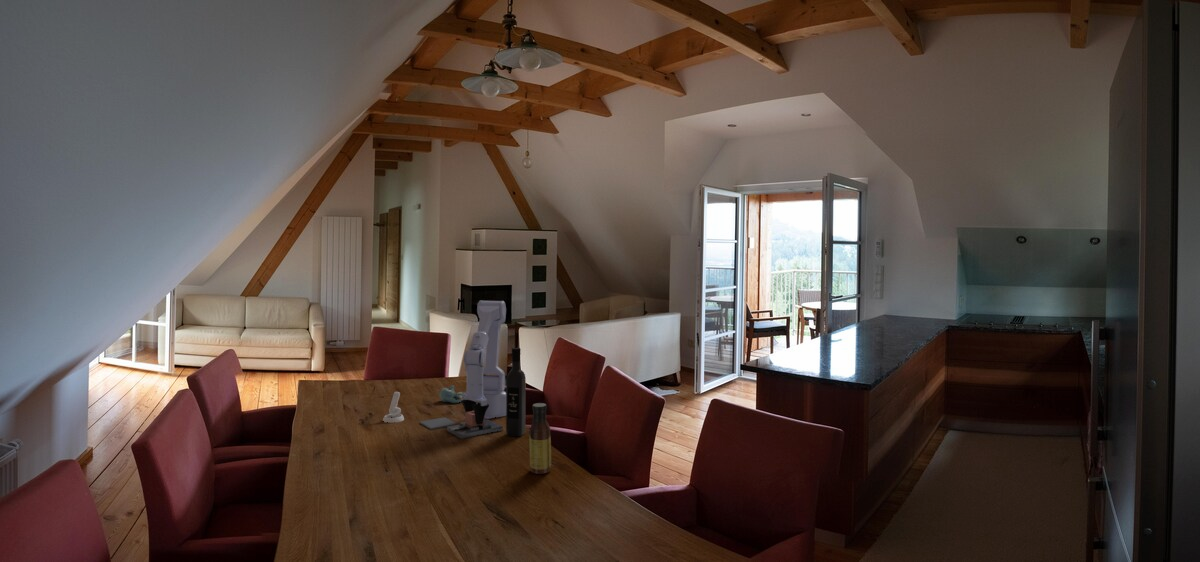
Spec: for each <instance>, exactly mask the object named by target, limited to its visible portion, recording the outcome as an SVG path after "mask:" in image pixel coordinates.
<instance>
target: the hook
mask: <svg viewBox="0 0 1200 562" xmlns="http://www.w3.org/2000/svg"><path fill="white" fill-rule="evenodd" d="M400 396H401V392H399V391H394V393H393V396H392V399H391V403H390V406H389V410H388V414H385V415H384V416H383V419H382V422H383V421H384V422H383V423H387V422H388V424H391V423H394V422H395V423H401V422H402V421H404V420H405V418H404V415H403V413H401V412H402V409H401V408H400V407H398V403H399V399H400ZM391 417H392V418H391Z"/></svg>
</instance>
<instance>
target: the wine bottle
mask: <svg viewBox="0 0 1200 562" xmlns="http://www.w3.org/2000/svg"><path fill="white" fill-rule="evenodd" d="M526 383H527V382H526V374H525V372H524V371H523V370H522V369H521V348H520V347H512V348H511V369H510V370H509V372H508V373H507V375H506V378H505V393H506V416H505V418H506V420H505V423H506V424H505V433H506V434H505V435H506V436H507V437H517V436H518V437H519V436H520V437H522V436H523V435H524V434H525V433H526ZM518 437H517V438H518ZM520 437H519V438H520Z"/></svg>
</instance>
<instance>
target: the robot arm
mask: <svg viewBox="0 0 1200 562" xmlns="http://www.w3.org/2000/svg"><path fill="white" fill-rule="evenodd" d="M476 312H477V315H478V318H479V322H478V326H477V331H475V332H474V333H473V334H472V338H471V341H470V344H469V347H468V350H465V352H464V356H463V357H464V358H463V362H464V363H463V364H464V370H465V372H466V391H463V392H462V393H463V398H462V399H463V400H461V399H460V400H461V402H460V403H461V404H462V406H463V409H464V413H465V412H469V411H474V413H475V420H476V424H477V425H479V424H482V423H483V420H484V416H485V420H487V419H488V420H490V419H494V418H495V417H496V418H501V417H506V391H505V390H506V373H505V371H504V370H503V369H502V368H501V367H499V355H500V343H501V342H500V338H501V327H502V324H503V323H506V318H507V316H506V315H507V307H506V302H505V301H504V300H483V299H481V300H479V301H478V302H477V308H476Z"/></svg>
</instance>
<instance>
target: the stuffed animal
mask: <svg viewBox="0 0 1200 562" xmlns="http://www.w3.org/2000/svg"><path fill="white" fill-rule="evenodd" d="M438 394H439V400H440V401H441V402H443V403H452V404H460V403H462V402H461V400H464V398H463V392H462V391H459V392H456V391H455V385H451V386H449V387H444V388H442V389H441V390H440V392H439V393H438ZM456 399H457V400H456ZM459 402H460V403H459Z"/></svg>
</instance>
